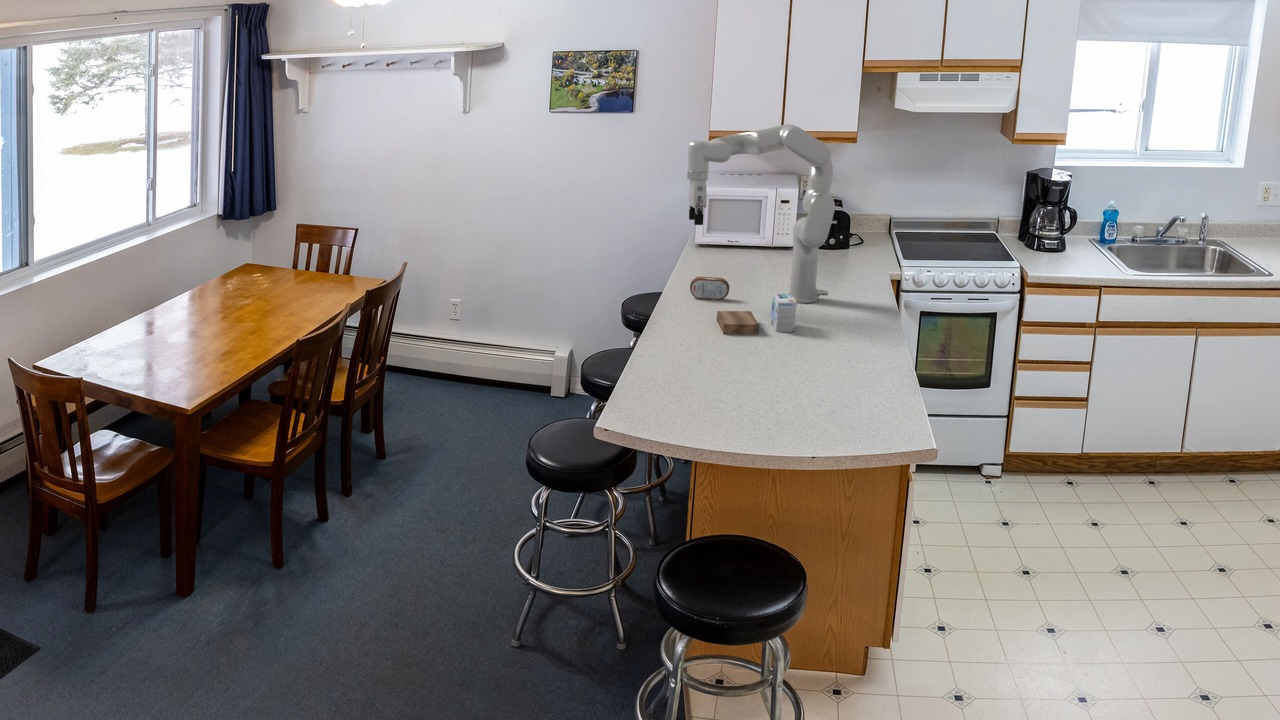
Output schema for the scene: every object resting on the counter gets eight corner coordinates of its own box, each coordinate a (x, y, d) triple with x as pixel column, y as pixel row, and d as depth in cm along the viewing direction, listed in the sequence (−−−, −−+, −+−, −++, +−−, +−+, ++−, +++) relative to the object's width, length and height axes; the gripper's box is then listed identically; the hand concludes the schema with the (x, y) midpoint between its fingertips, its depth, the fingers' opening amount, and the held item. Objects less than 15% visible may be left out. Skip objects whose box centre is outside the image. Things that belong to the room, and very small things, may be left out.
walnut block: (750, 322, 368) (750, 311, 367) (758, 335, 353) (758, 324, 352) (716, 321, 367) (717, 311, 366) (723, 335, 352) (723, 324, 351)
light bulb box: (769, 323, 366) (771, 293, 362) (788, 323, 366) (790, 293, 363) (775, 332, 356) (778, 301, 352) (795, 332, 356) (797, 302, 353)
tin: (728, 298, 395) (730, 277, 392) (728, 301, 392) (729, 279, 390) (689, 296, 397) (690, 275, 394) (689, 299, 394) (690, 277, 391)
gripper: (713, 179, 368) (711, 226, 374) (702, 172, 385) (700, 217, 390) (692, 179, 367) (690, 227, 373) (682, 172, 383) (681, 217, 389)
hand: (695, 222), depth 381 cm, fingers open, 9 cm apart
